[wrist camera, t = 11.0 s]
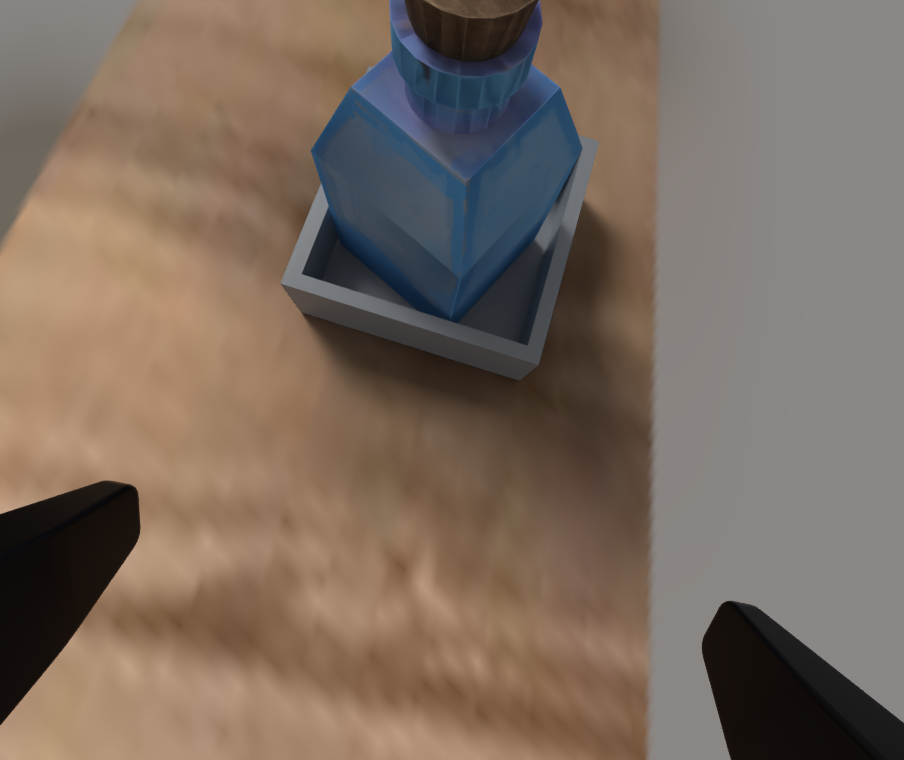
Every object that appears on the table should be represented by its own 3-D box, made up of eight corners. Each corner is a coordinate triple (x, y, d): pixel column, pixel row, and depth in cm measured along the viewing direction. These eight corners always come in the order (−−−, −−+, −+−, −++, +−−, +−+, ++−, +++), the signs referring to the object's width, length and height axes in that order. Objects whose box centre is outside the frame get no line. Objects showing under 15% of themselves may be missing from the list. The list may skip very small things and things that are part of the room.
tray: (519, 380, 21) (538, 364, 18) (301, 312, 21) (280, 283, 17) (572, 187, 23) (599, 141, 20) (375, 123, 23) (368, 66, 19)
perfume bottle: (534, 239, 21) (683, -42, 10) (446, 335, 20) (493, 149, 8) (433, 155, 22) (457, -215, 10) (341, 244, 20) (244, -56, 9)
